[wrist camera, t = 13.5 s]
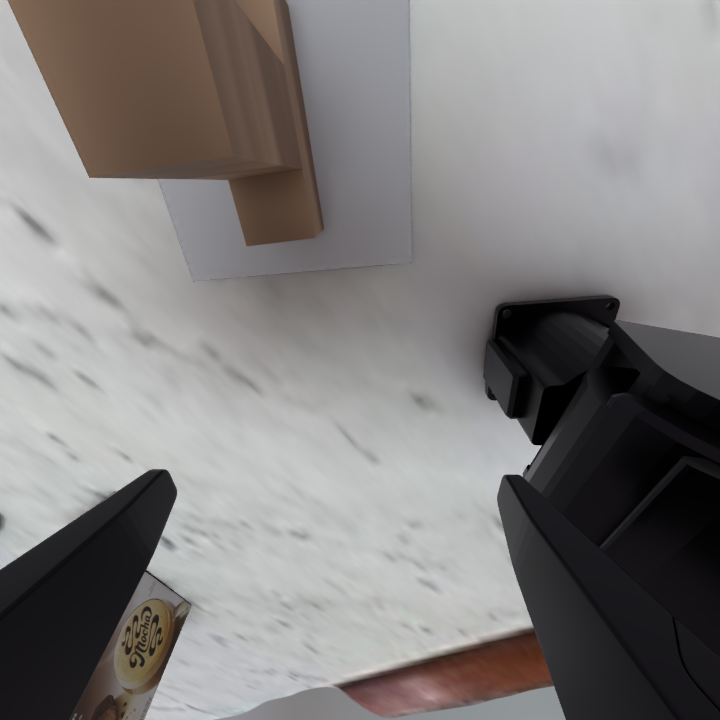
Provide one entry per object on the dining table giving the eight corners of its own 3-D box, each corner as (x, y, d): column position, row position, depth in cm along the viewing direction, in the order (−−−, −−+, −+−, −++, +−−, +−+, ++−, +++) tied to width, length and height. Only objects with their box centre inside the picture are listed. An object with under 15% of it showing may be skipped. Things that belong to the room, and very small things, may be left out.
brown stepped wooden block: (288, 5, 12) (76, -447, 3) (324, 228, 16) (268, 285, 7) (213, 19, 12) (-163, -370, 4) (266, 236, 16) (144, 298, 8)
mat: (406, -85, 11) (407, -96, 11) (410, 260, 17) (411, 262, 17) (91, -33, 12) (81, -41, 12) (197, 278, 18) (193, 281, 18)
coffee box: (95, 575, 34) (-96, 847, 20) (141, 564, 33) (-29, 848, 19) (151, 614, 38) (24, 863, 24) (194, 605, 37) (86, 864, 23)
